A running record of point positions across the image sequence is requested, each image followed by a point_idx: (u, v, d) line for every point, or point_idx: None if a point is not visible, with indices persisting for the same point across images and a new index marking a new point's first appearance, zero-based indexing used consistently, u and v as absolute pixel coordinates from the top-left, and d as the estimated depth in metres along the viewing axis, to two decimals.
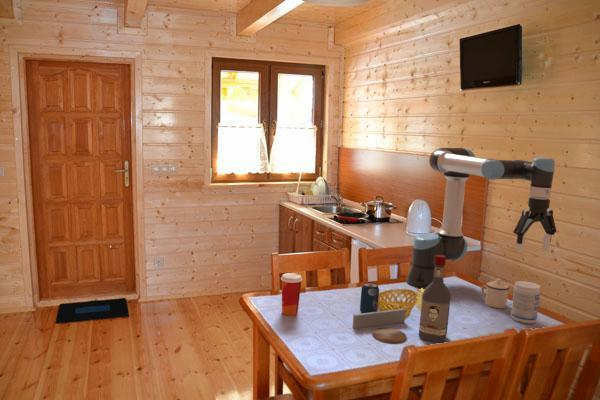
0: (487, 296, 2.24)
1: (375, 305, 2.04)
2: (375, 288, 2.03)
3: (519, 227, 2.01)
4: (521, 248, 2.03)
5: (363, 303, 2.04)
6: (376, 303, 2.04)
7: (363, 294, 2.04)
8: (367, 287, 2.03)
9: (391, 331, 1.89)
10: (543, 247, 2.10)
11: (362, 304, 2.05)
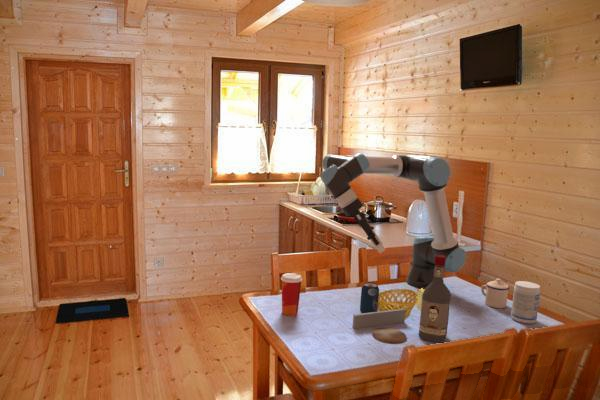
0: (487, 296, 2.24)
1: (375, 305, 2.04)
2: (375, 288, 2.03)
3: None
4: None
5: (363, 303, 2.04)
6: (376, 303, 2.04)
7: (363, 294, 2.04)
8: (367, 287, 2.03)
9: (391, 331, 1.89)
10: None
11: (362, 304, 2.05)
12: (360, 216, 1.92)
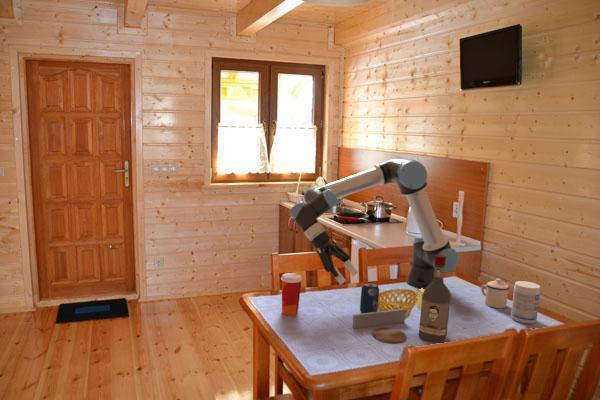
0: (487, 296, 2.24)
1: (375, 305, 2.04)
2: (375, 288, 2.03)
3: None
4: None
5: (363, 303, 2.04)
6: (376, 303, 2.04)
7: (363, 294, 2.04)
8: (367, 287, 2.03)
9: (391, 331, 1.89)
10: None
11: (362, 304, 2.05)
12: (320, 250, 2.05)
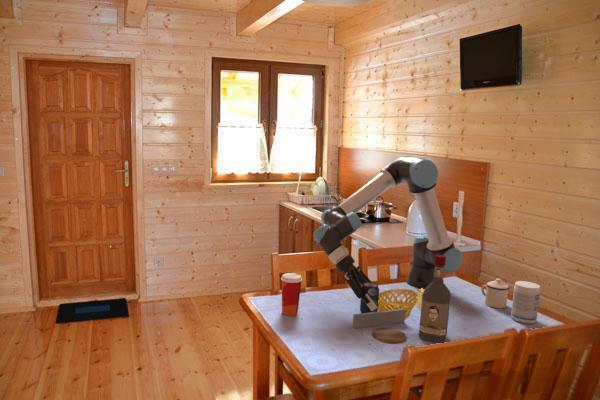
0: (487, 296, 2.24)
1: None
2: (375, 288, 2.03)
3: None
4: None
5: (363, 303, 2.04)
6: (376, 303, 2.04)
7: None
8: (367, 287, 2.03)
9: (391, 331, 1.89)
10: None
11: (362, 304, 2.05)
12: (348, 277, 2.02)
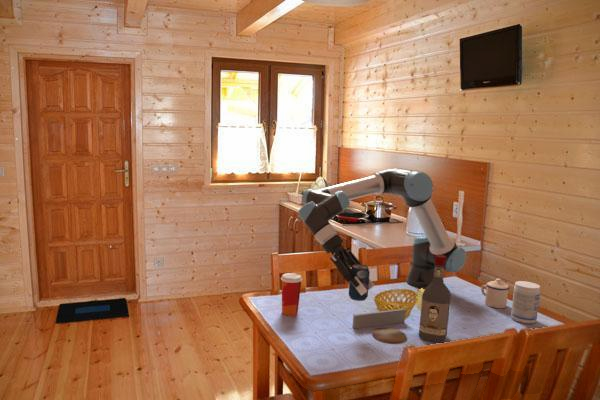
0: (487, 296, 2.24)
1: None
2: (365, 270, 1.86)
3: None
4: None
5: (352, 287, 1.87)
6: (366, 286, 1.87)
7: None
8: (356, 269, 1.86)
9: (391, 331, 1.89)
10: None
11: (351, 288, 1.88)
12: (335, 258, 1.85)
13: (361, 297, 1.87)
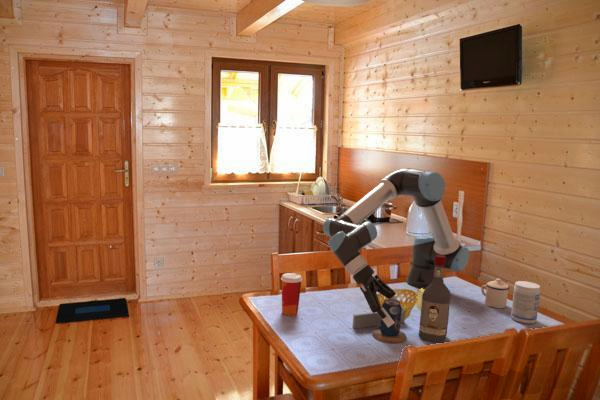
0: (487, 296, 2.24)
1: (397, 325, 1.84)
2: (397, 306, 1.83)
3: None
4: None
5: (384, 323, 1.84)
6: (398, 323, 1.84)
7: None
8: (388, 305, 1.83)
9: None
10: None
11: (383, 324, 1.84)
12: (364, 287, 1.81)
13: (393, 333, 1.83)
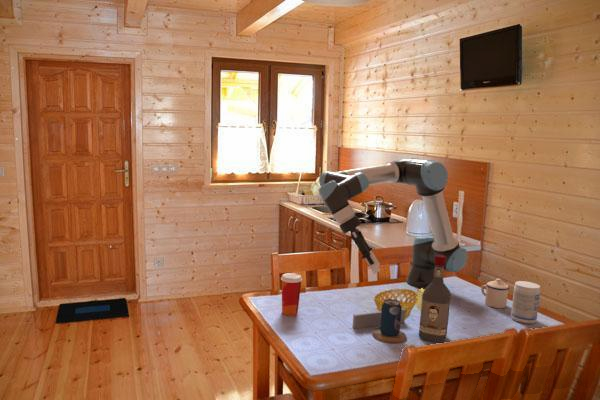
0: (487, 296, 2.24)
1: (397, 325, 1.84)
2: (397, 306, 1.83)
3: None
4: None
5: (384, 323, 1.84)
6: (398, 323, 1.84)
7: (384, 313, 1.84)
8: (388, 305, 1.83)
9: None
10: None
11: (383, 324, 1.84)
12: (356, 234, 1.87)
13: (393, 333, 1.83)
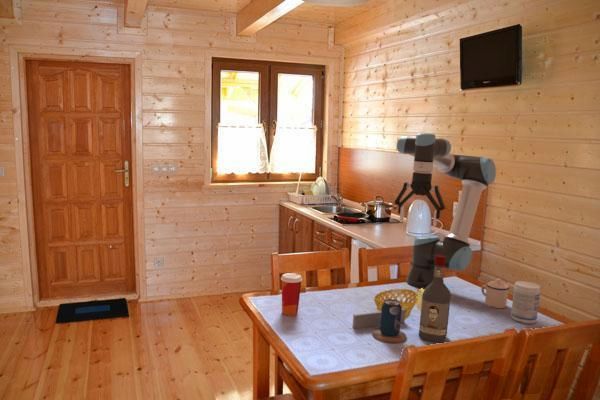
0: (487, 296, 2.24)
1: (397, 325, 1.84)
2: (397, 306, 1.83)
3: (397, 197, 2.15)
4: None
5: (384, 323, 1.84)
6: (398, 323, 1.84)
7: (384, 313, 1.84)
8: (388, 305, 1.83)
9: None
10: None
11: (383, 324, 1.84)
12: (438, 188, 2.09)
13: (393, 334, 1.83)
